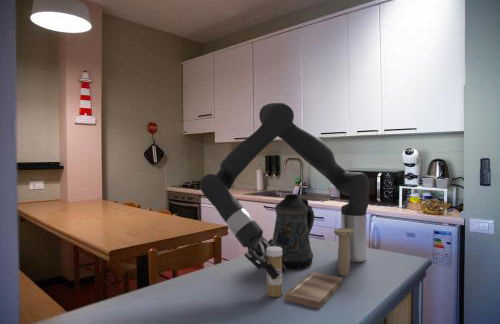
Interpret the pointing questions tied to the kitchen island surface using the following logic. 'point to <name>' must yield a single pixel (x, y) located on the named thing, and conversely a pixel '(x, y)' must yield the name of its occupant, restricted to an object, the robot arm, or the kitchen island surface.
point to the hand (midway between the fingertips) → (280, 274)
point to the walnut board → (314, 289)
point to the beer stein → (294, 231)
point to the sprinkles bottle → (276, 260)
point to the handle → (344, 250)
